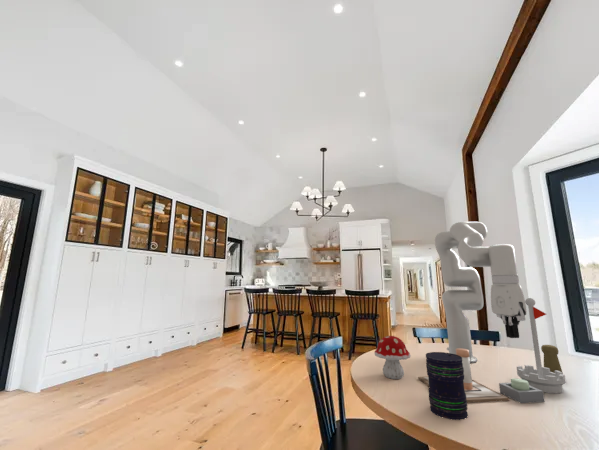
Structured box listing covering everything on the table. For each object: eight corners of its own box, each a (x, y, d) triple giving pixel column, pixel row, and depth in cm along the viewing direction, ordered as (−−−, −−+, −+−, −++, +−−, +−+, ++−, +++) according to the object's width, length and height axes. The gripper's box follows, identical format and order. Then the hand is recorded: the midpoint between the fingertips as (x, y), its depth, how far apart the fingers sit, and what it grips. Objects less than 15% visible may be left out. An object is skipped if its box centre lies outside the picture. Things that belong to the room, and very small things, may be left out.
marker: (457, 385, 100) (453, 348, 102) (468, 385, 100) (464, 348, 102) (464, 390, 96) (460, 351, 98) (475, 389, 96) (471, 350, 98)
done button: (508, 390, 95) (507, 378, 95) (521, 390, 95) (519, 378, 96) (520, 396, 90) (518, 383, 91) (534, 395, 91) (532, 383, 91)
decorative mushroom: (380, 369, 122) (378, 331, 125) (415, 374, 115) (412, 334, 118) (370, 379, 110) (368, 337, 113) (409, 385, 104) (406, 340, 106)
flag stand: (509, 382, 105) (499, 297, 111) (537, 379, 108) (526, 296, 114) (546, 395, 93) (533, 299, 99) (577, 392, 96) (562, 299, 102)
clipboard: (417, 379, 110) (417, 375, 110) (463, 377, 112) (462, 373, 112) (453, 403, 88) (452, 398, 88) (509, 400, 90) (508, 395, 90)
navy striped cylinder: (451, 423, 76) (445, 362, 79) (422, 408, 85) (417, 354, 88) (476, 415, 80) (470, 358, 83) (446, 402, 89) (441, 350, 92)
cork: (567, 378, 110) (562, 347, 112) (549, 377, 111) (544, 346, 113) (557, 373, 115) (552, 343, 117) (540, 372, 117) (535, 343, 119)
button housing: (500, 392, 96) (499, 383, 97) (522, 391, 97) (521, 382, 97) (520, 403, 88) (519, 392, 89) (544, 401, 89) (543, 391, 90)
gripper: (479, 280, 106) (486, 333, 103) (512, 281, 92) (521, 342, 88) (498, 280, 107) (505, 333, 103) (534, 280, 92) (544, 341, 89)
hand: (513, 337), depth 96 cm, fingers closed
